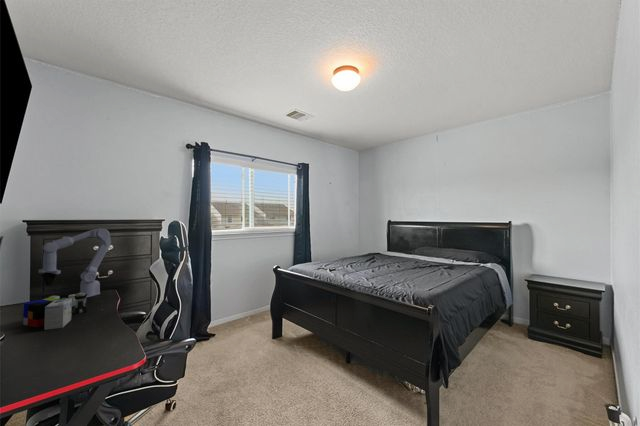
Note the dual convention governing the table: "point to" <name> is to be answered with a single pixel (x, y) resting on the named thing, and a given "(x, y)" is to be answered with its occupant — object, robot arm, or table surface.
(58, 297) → the gray block
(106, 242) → the robot arm
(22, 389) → the table surface
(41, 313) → the puzzle toy
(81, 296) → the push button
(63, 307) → the light bulb box
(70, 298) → the grey block
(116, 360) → the table surface
